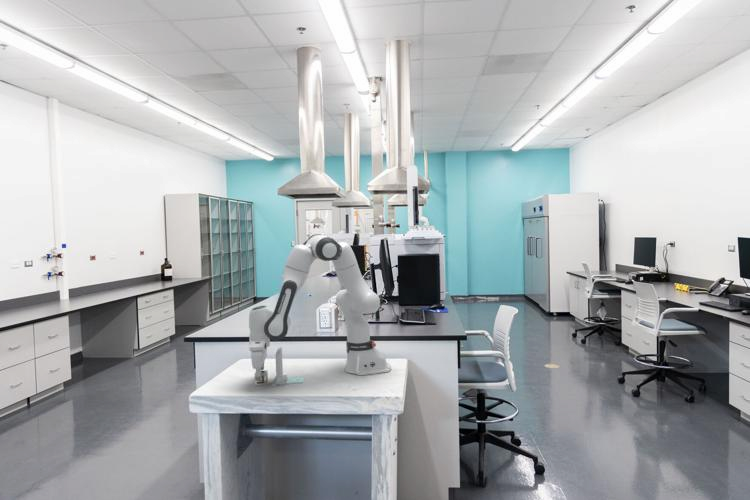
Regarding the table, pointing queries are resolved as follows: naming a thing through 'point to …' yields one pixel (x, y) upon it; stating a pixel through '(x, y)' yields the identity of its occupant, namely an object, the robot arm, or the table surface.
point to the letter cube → (262, 378)
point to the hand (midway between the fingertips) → (260, 372)
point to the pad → (295, 380)
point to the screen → (279, 369)
